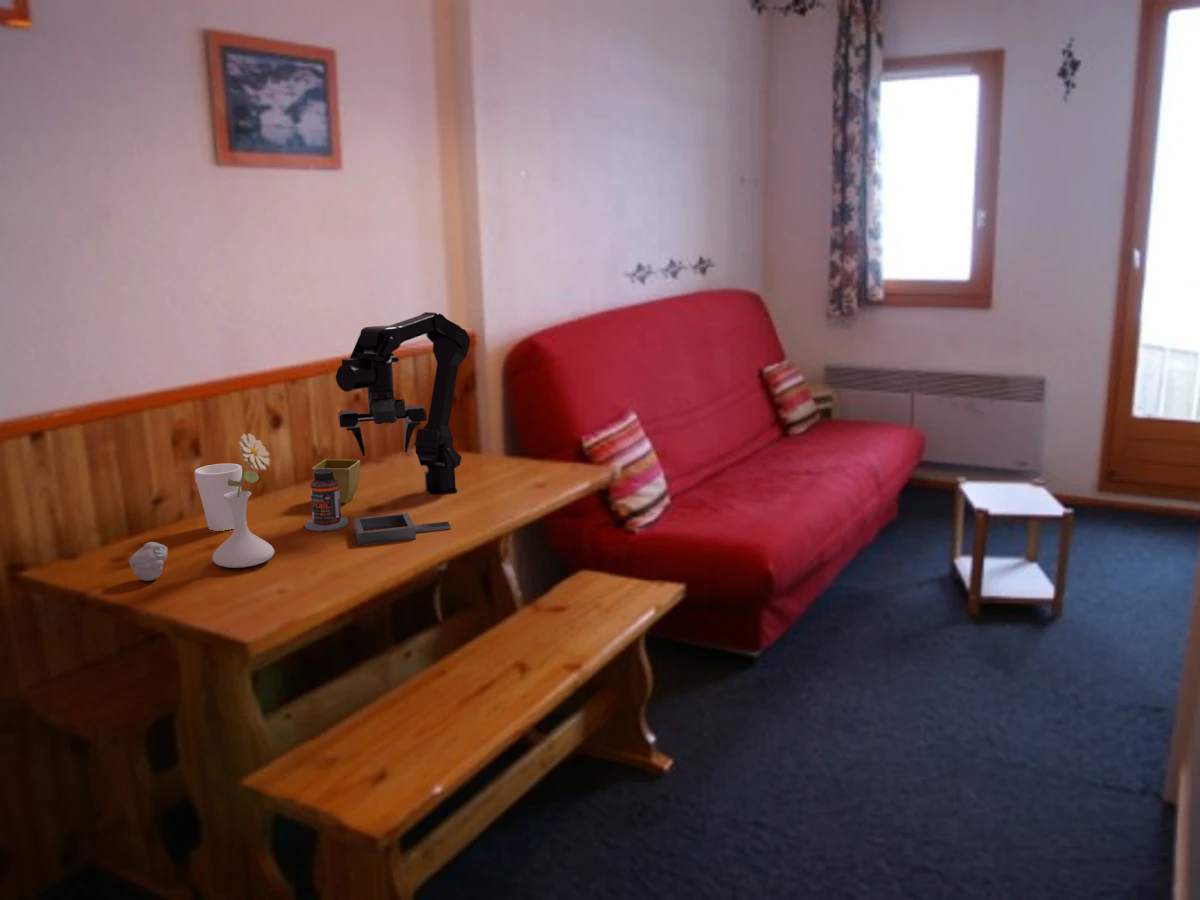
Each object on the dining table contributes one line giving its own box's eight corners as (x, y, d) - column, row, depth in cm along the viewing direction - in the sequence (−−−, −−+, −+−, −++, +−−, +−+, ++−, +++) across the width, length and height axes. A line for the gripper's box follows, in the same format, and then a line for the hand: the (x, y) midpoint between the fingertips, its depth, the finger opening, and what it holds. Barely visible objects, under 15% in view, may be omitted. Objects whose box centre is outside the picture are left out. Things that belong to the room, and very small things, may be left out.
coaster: (346, 517, 228) (346, 514, 228) (350, 529, 220) (349, 525, 220) (304, 522, 225) (304, 518, 225) (306, 533, 217) (305, 530, 217)
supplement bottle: (310, 526, 220) (305, 474, 217) (316, 517, 225) (312, 467, 223) (338, 525, 220) (333, 473, 217) (344, 517, 225) (340, 466, 223)
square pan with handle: (444, 519, 225) (444, 508, 224) (454, 534, 214) (453, 523, 214) (354, 529, 219) (353, 518, 219) (359, 545, 209) (358, 533, 208)
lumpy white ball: (177, 578, 192) (173, 542, 190) (140, 588, 187) (135, 551, 185) (162, 571, 196) (157, 535, 194) (125, 581, 191) (120, 545, 189)
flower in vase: (240, 577, 192) (226, 445, 186) (200, 567, 198) (185, 439, 192) (294, 556, 203) (282, 432, 197) (255, 547, 209) (242, 426, 203)
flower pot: (363, 496, 245) (360, 459, 243) (351, 506, 237) (348, 468, 235) (327, 496, 246) (324, 459, 244) (314, 506, 238) (311, 468, 236)
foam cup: (256, 523, 225) (251, 465, 222) (225, 535, 217) (218, 475, 214) (223, 519, 229) (217, 462, 226) (191, 530, 221) (184, 471, 218)
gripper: (339, 393, 216) (344, 465, 220) (428, 387, 222) (432, 458, 225) (335, 385, 227) (340, 454, 230) (420, 379, 232) (424, 447, 236)
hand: (384, 453), depth 230 cm, fingers open, 9 cm apart
